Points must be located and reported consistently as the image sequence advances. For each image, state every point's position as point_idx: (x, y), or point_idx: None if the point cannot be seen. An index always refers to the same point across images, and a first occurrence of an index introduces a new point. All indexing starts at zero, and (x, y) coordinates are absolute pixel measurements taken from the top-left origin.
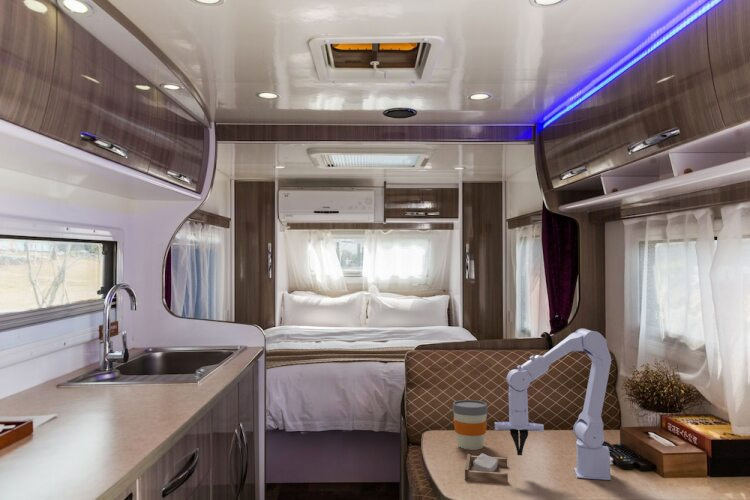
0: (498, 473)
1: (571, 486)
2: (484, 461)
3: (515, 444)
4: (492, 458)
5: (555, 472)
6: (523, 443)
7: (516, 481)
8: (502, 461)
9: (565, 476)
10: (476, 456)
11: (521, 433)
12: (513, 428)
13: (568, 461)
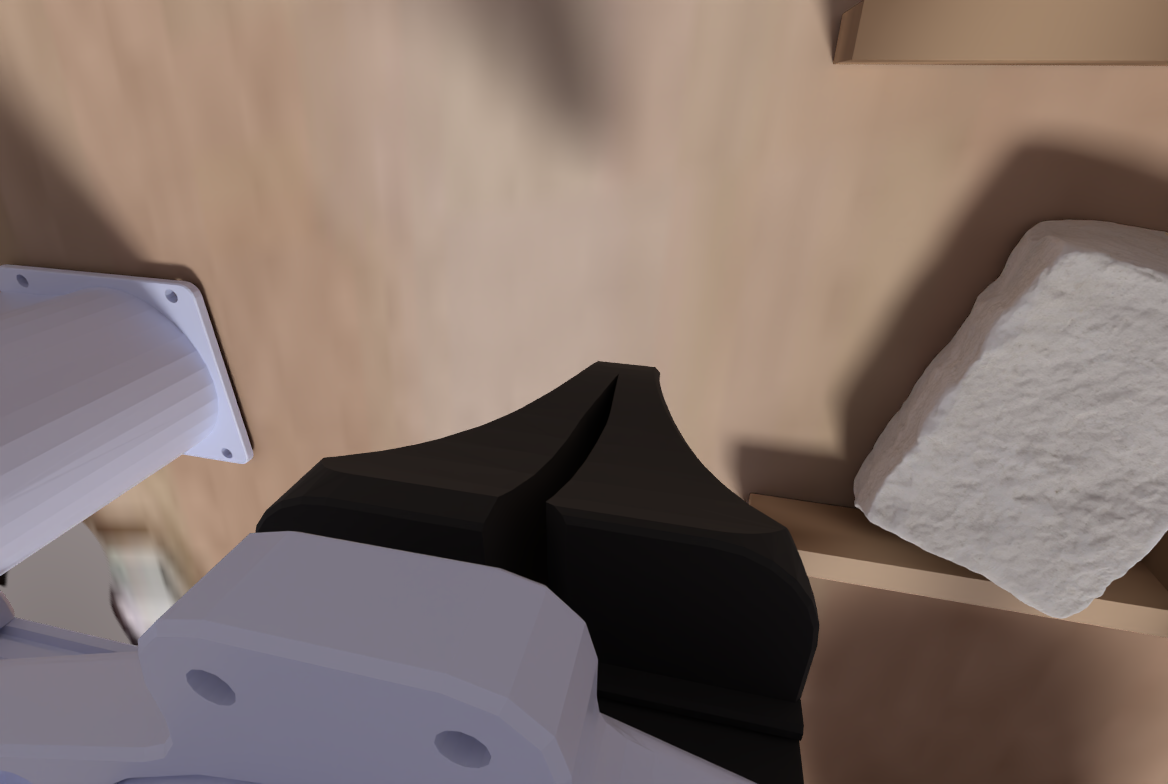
0: (1014, 9)
1: (205, 65)
2: (1080, 447)
3: (674, 433)
4: (935, 527)
5: (367, 395)
6: (508, 422)
7: (720, 103)
8: (797, 530)
9: (289, 317)
10: (1098, 613)
11: (435, 525)
12: (707, 762)
13: None
